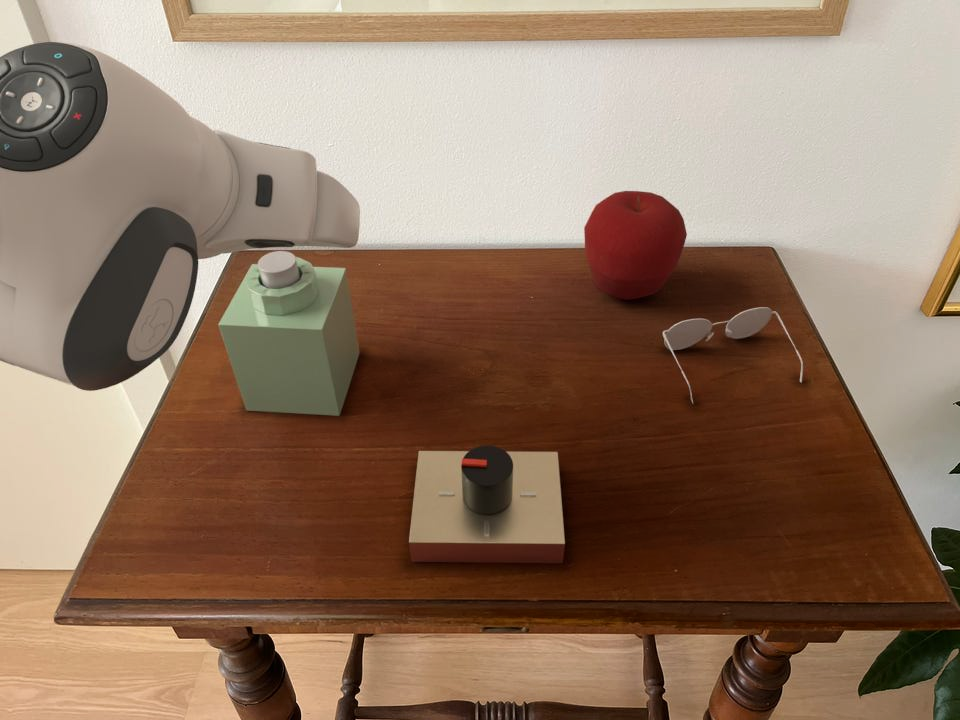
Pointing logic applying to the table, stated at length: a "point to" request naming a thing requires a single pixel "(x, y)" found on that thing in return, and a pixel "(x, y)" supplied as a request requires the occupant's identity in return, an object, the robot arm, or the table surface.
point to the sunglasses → (736, 328)
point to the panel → (487, 537)
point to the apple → (633, 243)
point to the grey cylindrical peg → (278, 270)
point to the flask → (293, 341)
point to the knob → (487, 479)
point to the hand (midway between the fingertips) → (262, 235)
